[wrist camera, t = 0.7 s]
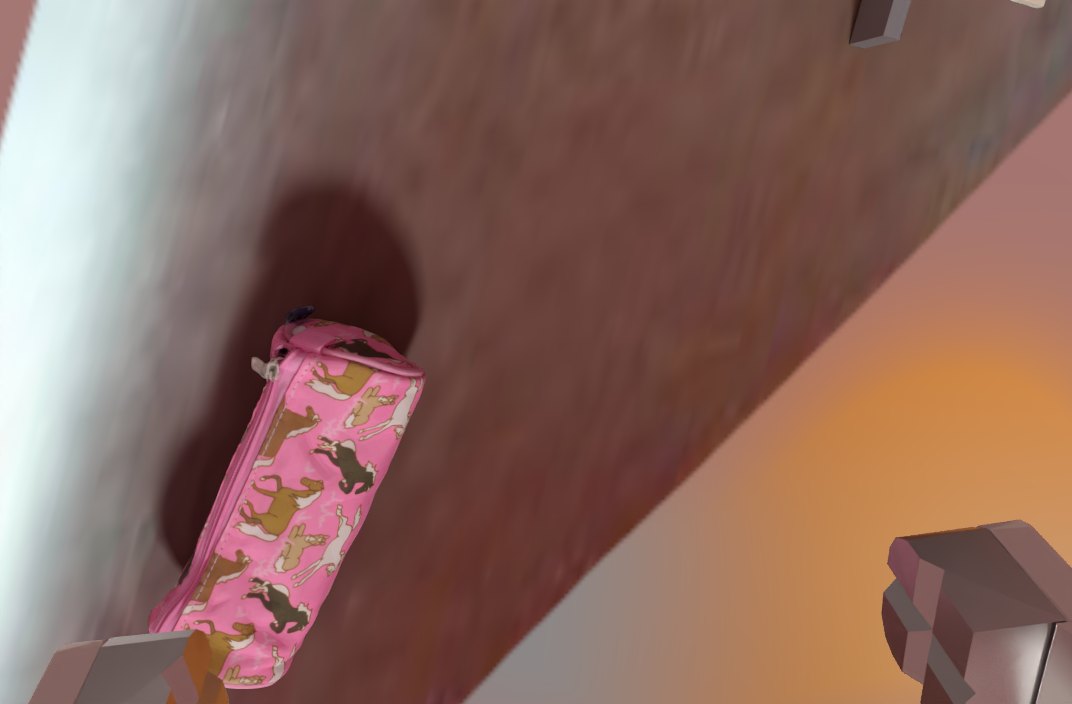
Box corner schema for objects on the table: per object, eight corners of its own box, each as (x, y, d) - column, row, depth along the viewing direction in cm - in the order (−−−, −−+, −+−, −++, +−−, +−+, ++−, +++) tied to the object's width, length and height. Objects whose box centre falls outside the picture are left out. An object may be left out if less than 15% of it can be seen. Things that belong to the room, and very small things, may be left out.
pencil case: (288, 287, 52) (263, 313, 43) (433, 347, 54) (437, 383, 45) (160, 599, 55) (113, 680, 46) (302, 645, 57) (282, 731, 48)
